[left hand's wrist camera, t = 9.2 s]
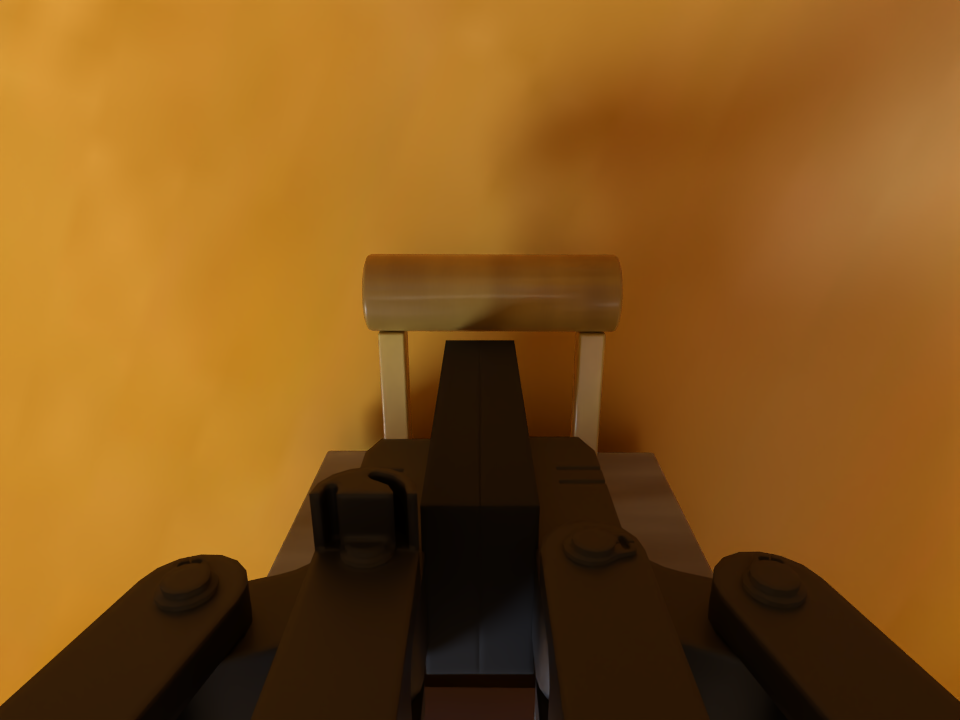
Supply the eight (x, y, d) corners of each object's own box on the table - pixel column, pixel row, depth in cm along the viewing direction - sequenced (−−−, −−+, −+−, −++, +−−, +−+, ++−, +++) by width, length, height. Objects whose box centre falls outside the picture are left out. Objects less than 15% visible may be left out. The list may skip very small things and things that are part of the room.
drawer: (308, 234, 17) (214, 293, 11) (676, 235, 17) (774, 294, 11) (363, 845, 25) (326, 1062, 19) (612, 849, 25) (649, 1068, 19)
